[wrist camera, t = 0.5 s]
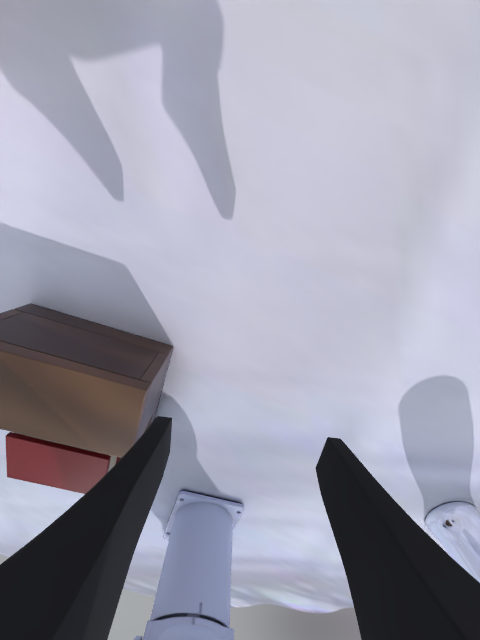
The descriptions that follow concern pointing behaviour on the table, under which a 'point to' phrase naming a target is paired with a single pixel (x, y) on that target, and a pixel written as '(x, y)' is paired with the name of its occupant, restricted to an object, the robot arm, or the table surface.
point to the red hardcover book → (55, 463)
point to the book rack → (77, 380)
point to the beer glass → (458, 533)
